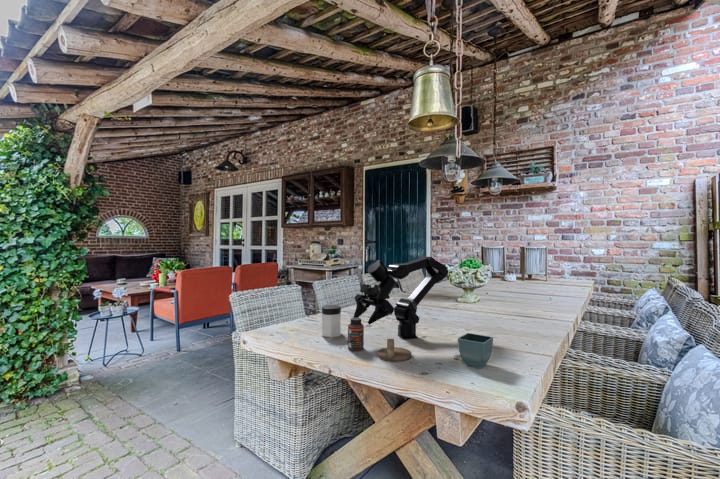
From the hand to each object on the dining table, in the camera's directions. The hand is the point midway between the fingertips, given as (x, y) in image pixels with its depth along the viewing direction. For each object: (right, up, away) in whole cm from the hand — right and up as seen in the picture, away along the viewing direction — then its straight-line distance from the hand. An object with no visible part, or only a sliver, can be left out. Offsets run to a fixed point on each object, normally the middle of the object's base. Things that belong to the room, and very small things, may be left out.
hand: (361, 321), depth 130 cm
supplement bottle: (-2, -10, -1) cm, 10 cm away
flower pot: (+37, -10, -18) cm, 43 cm away
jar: (-13, -10, +17) cm, 24 cm away
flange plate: (+12, -10, -9) cm, 18 cm away
